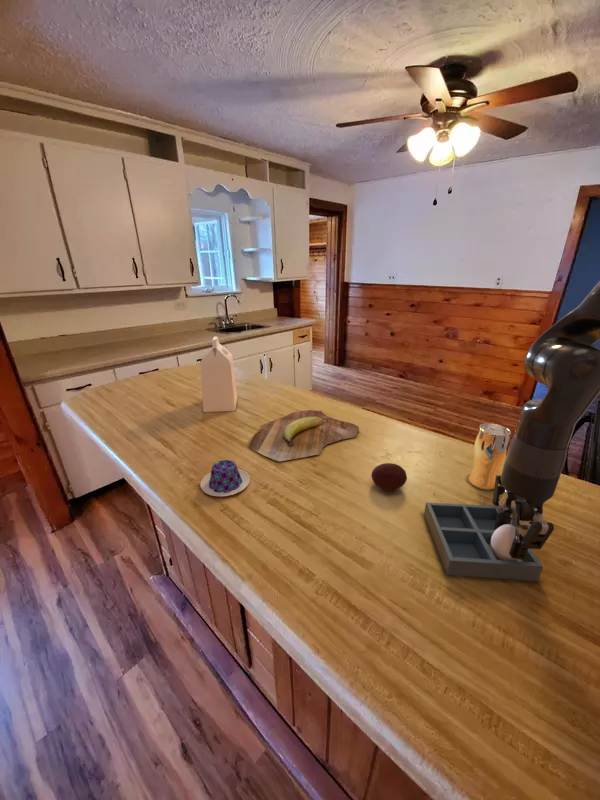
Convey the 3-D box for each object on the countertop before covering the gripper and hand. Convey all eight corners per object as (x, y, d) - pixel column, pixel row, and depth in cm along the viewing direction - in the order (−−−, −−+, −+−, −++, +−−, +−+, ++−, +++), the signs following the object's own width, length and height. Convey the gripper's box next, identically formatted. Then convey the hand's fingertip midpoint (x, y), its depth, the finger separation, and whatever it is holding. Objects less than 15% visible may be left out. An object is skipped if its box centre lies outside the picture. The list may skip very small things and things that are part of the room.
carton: (496, 519, 72) (500, 506, 71) (538, 581, 58) (543, 566, 57) (423, 514, 73) (426, 502, 72) (446, 574, 59) (450, 560, 58)
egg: (527, 566, 60) (538, 534, 57) (503, 573, 59) (514, 541, 56) (503, 544, 65) (512, 514, 62) (480, 550, 63) (489, 519, 61)
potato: (403, 500, 78) (407, 478, 76) (368, 492, 81) (370, 471, 78) (406, 482, 84) (409, 461, 82) (373, 475, 87) (375, 455, 85)
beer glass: (503, 484, 84) (517, 431, 78) (488, 494, 80) (502, 439, 74) (476, 471, 89) (488, 420, 83) (461, 480, 85) (472, 427, 80)
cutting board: (308, 407, 129) (308, 397, 127) (368, 430, 111) (369, 419, 109) (232, 438, 105) (231, 427, 104) (293, 473, 88) (293, 460, 86)
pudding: (190, 491, 80) (187, 473, 78) (219, 466, 91) (217, 449, 89) (233, 504, 76) (231, 485, 74) (258, 475, 87) (257, 458, 85)
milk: (208, 399, 135) (201, 335, 125) (237, 398, 136) (232, 334, 126) (203, 411, 124) (195, 342, 114) (235, 410, 125) (230, 341, 115)
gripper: (589, 492, 47) (554, 580, 54) (532, 442, 61) (509, 517, 67) (533, 489, 48) (505, 576, 54) (489, 441, 61) (470, 515, 67)
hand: (507, 543), depth 61 cm, fingers closed on egg, 5 cm apart
